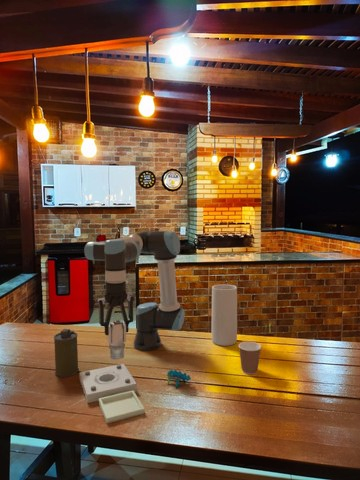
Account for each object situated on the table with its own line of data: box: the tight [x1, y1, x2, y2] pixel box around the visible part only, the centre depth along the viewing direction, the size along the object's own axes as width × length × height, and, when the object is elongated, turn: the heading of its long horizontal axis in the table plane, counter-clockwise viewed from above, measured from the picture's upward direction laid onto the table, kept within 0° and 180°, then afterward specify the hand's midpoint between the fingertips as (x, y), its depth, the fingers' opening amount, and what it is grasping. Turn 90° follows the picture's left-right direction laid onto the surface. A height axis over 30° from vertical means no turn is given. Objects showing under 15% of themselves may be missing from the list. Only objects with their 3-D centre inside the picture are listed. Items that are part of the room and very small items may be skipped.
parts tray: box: [98, 391, 145, 425], centre depth 129 cm, size 14×14×2 cm
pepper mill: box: [108, 319, 126, 360], centre depth 129 cm, size 6×6×14 cm
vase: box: [210, 283, 238, 347], centre depth 192 cm, size 14×14×32 cm
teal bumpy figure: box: [166, 369, 192, 388], centre depth 146 cm, size 11×6×10 cm
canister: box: [53, 328, 80, 378], centre depth 158 cm, size 11×10×20 cm
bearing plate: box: [79, 363, 138, 404], centre depth 146 cm, size 20×20×4 cm
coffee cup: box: [238, 341, 262, 375], centre depth 158 cm, size 10×10×12 cm
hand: (116, 341), depth 129 cm, fingers closed on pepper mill, 5 cm apart
